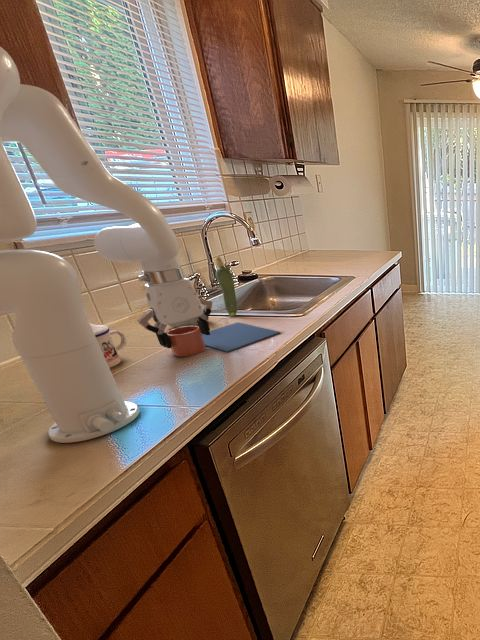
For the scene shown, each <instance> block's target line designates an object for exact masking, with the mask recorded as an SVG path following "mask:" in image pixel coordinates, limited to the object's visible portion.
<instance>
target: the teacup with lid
mask: <svg viewBox="0 0 480 640" xmlns="http://www.w3.org/2000/svg"><path fill="white" fill-rule="evenodd" d="M90 325H91V327H92V330H93V332H94V334H95V337H96V339H97V341H98V343H99V346H100V348H101V350H102V352H103V355H104V357H105V359H106V361H107V364H108V366H109V368H110V369H111V368H114V367H115V366H118V365H119V364H120V363H121V361H122V359H121V356H120V354H119V352H118V351H120V350H122V349H123V348H124V347H125V346H126V343H127V337H126V335H125V333H124V332H122V331H121V330H110V328H109V327H108V326H107V325H103V324H93V323H90ZM116 334H117V335H119V336H120V343H119V344H118V345H117V346H116V345H115V342H114V340H113V337H112V335H116Z"/></svg>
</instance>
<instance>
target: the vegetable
mask: <svg viewBox="0 0 480 640" xmlns="http://www.w3.org/2000/svg"><path fill="white" fill-rule="evenodd" d="M215 265H216V266H217V267H218V268H217V269H216V271H215V277H216V280H217V282H218V284H219V286H220V288H221V292H222V296H223V303H224V307H225V310H226V312H227V313H228V316H229V317H236V316H237V312H238V300H237V296H236V289H235V281H234V276H233V274H232V272H231V270H230V269H229V268H228V267H226V266H225V265H224V262H223V261H222V258H221V257H220V255H217V256H216V259H215Z"/></svg>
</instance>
